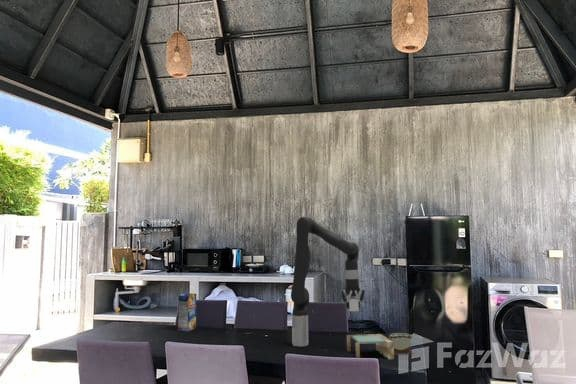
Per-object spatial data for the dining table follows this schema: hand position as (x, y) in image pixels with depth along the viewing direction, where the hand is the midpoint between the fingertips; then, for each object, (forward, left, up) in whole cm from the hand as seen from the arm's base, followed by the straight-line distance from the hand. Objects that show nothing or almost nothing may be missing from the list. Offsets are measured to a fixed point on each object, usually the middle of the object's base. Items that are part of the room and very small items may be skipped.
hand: (353, 308), depth 240 cm
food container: (+24, -7, -23) cm, 34 cm away
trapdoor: (+6, -9, -15) cm, 19 cm away
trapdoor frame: (+6, -9, -23) cm, 25 cm away
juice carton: (-99, +73, -23) cm, 125 cm away
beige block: (0, 0, -1) cm, 1 cm away
